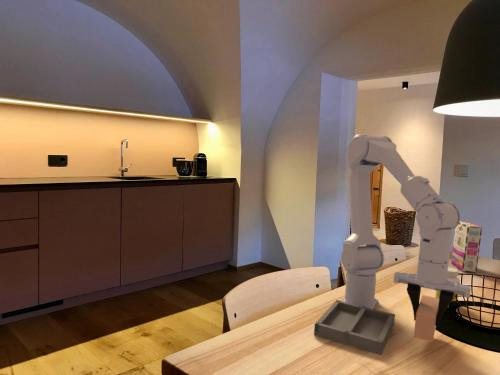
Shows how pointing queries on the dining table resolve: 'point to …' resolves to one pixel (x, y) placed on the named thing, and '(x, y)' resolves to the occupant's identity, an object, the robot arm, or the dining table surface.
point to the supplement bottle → (452, 277)
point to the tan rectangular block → (426, 318)
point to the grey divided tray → (356, 326)
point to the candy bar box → (466, 246)
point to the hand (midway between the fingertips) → (426, 321)
